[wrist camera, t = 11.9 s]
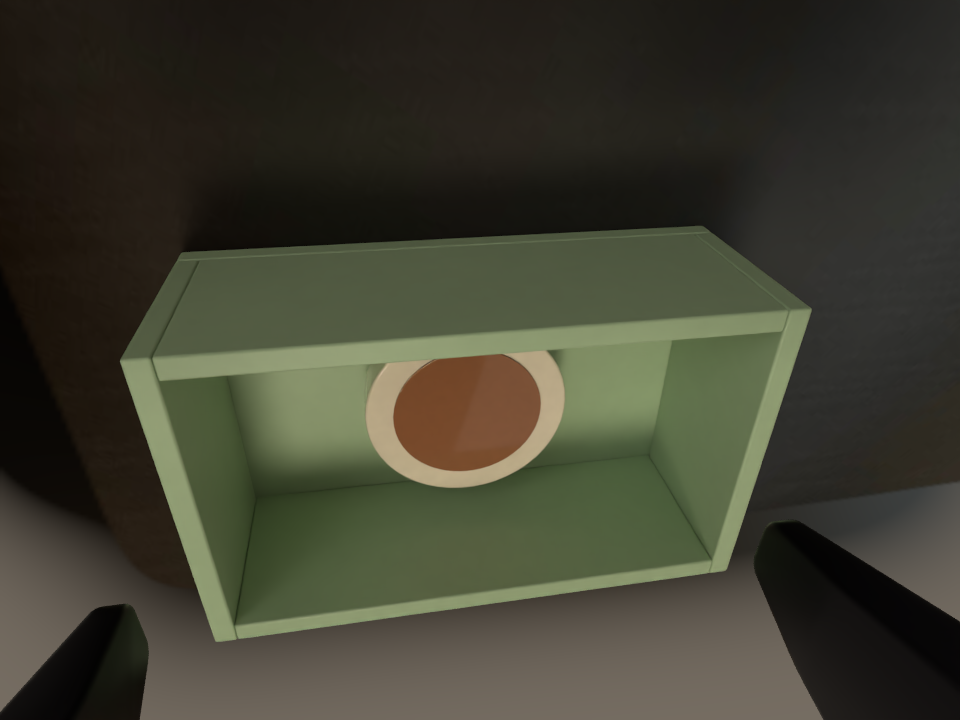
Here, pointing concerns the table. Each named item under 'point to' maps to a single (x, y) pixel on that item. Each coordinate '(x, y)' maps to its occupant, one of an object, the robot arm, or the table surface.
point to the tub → (451, 334)
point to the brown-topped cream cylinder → (463, 415)
